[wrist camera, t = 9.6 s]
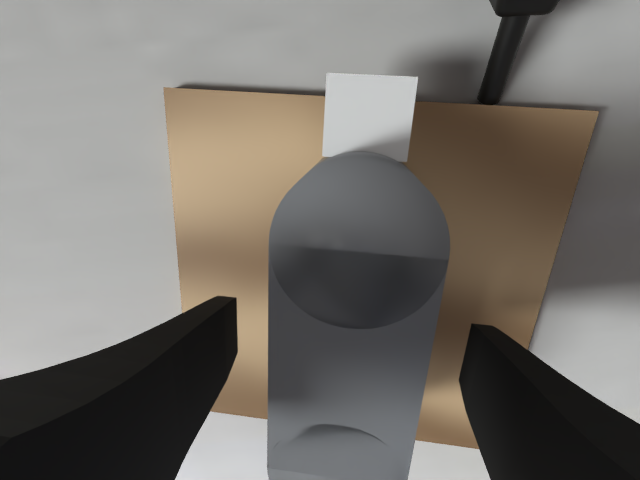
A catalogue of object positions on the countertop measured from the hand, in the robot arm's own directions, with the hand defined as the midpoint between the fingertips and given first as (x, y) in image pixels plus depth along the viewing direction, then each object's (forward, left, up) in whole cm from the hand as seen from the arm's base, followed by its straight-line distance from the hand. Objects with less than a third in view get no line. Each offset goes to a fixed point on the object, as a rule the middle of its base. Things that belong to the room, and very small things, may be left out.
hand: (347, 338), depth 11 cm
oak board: (0, 0, -4) cm, 4 cm away
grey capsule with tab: (0, 0, -3) cm, 3 cm away
